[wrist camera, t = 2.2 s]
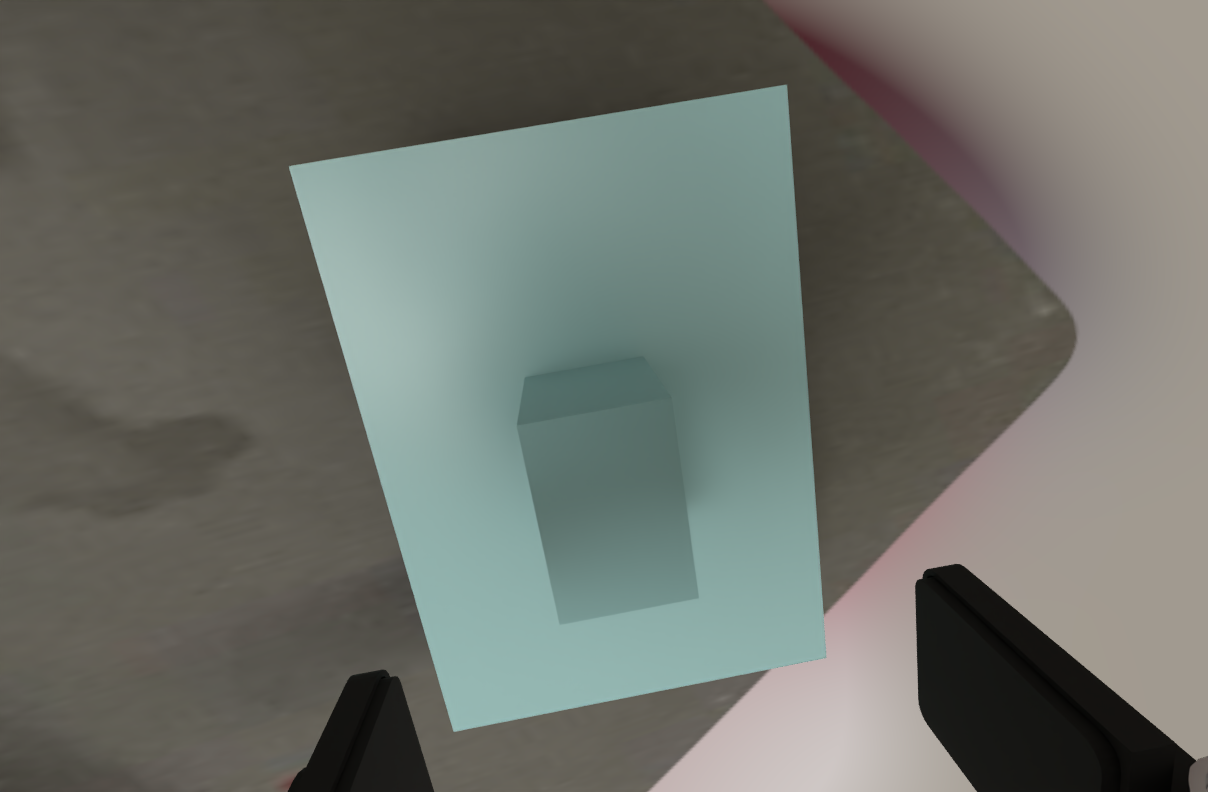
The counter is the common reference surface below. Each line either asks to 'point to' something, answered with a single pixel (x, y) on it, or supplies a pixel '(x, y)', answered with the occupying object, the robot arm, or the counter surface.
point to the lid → (585, 396)
